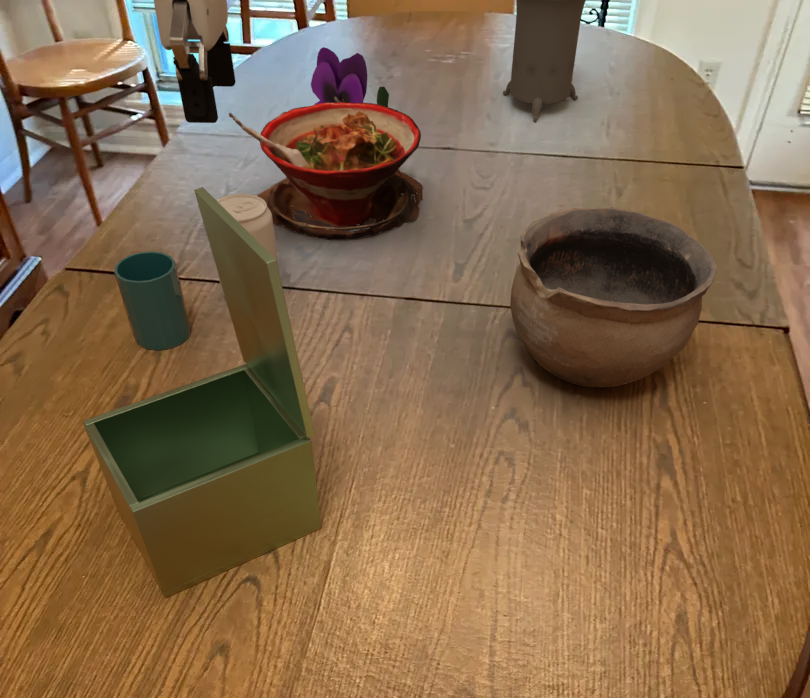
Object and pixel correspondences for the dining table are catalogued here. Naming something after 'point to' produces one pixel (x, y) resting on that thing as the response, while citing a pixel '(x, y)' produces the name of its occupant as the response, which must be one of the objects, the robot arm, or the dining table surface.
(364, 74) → the flower
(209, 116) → the robot arm
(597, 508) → the dining table surface
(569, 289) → the ceramic bowl
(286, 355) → the bin lid
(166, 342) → the cup
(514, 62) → the grey footed vase
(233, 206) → the beverage can
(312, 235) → the stew
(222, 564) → the bin
